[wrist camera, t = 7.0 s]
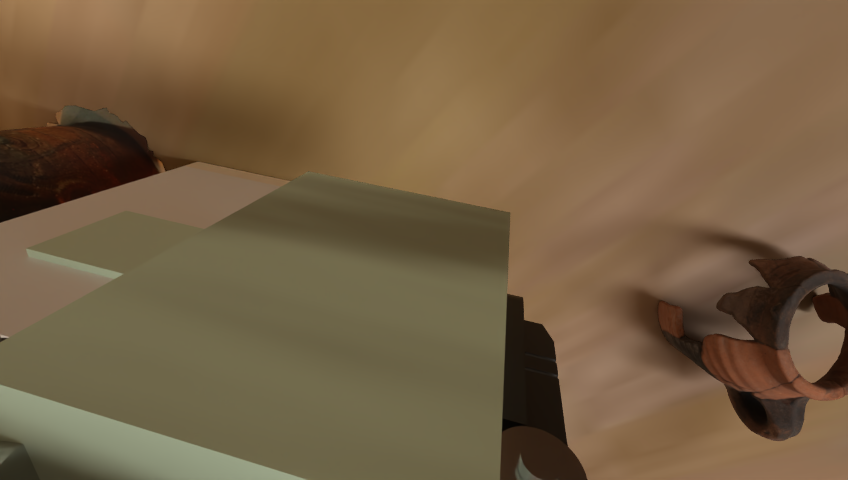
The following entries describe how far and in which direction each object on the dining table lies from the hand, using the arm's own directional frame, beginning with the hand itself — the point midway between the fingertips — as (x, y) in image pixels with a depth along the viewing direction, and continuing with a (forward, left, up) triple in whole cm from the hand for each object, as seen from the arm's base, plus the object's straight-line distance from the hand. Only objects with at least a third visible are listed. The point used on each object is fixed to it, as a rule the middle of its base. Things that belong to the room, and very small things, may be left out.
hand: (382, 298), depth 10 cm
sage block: (0, 0, -1) cm, 1 cm away
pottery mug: (+8, +21, -20) cm, 30 cm away
